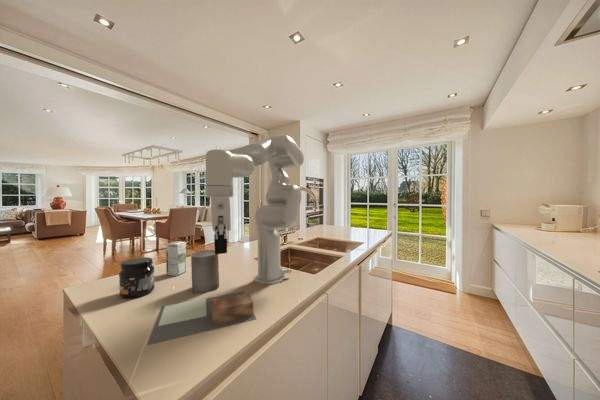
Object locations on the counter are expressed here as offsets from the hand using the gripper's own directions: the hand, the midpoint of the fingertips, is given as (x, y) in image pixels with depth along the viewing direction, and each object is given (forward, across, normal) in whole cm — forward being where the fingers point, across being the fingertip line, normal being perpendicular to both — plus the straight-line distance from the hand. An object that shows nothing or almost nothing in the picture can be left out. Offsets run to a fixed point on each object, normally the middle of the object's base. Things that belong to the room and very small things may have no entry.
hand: (220, 249), depth 66 cm
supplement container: (+20, +28, +28) cm, 44 cm away
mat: (+20, +2, +4) cm, 20 cm away
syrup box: (+20, +45, +18) cm, 52 cm away
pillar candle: (+20, +23, +5) cm, 30 cm away
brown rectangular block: (+19, -2, -3) cm, 19 cm away
